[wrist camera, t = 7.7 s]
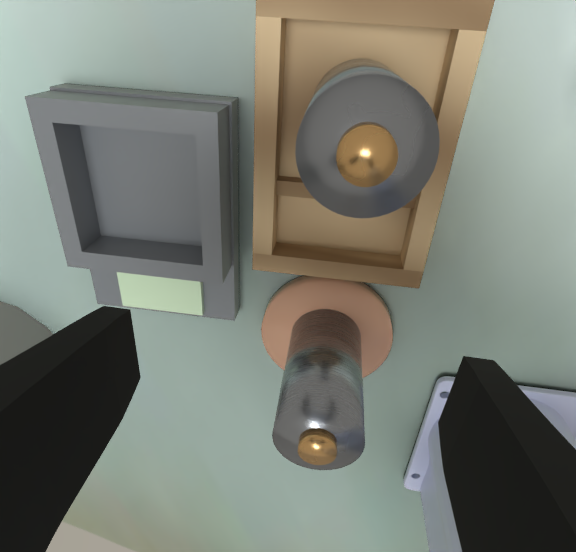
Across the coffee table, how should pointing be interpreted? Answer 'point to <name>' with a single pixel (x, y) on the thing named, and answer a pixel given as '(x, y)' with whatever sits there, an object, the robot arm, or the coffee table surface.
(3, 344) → the cup
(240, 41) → the coffee table surface
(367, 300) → the dish
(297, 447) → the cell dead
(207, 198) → the cradle
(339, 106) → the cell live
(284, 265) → the tray
